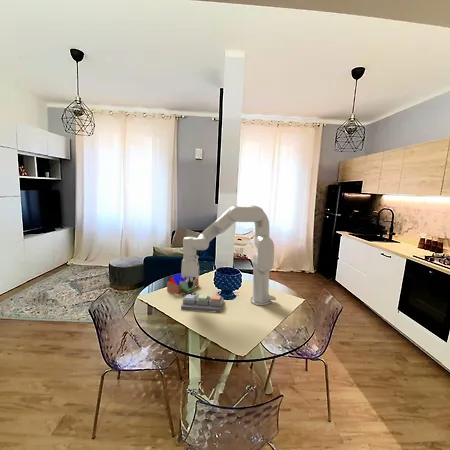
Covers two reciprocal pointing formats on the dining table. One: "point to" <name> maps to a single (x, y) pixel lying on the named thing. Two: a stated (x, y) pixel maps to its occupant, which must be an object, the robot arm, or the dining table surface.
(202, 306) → the button panel
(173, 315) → the dining table surface
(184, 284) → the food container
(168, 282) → the house
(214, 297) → the button terracotta
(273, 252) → the robot arm
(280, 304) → the dining table surface
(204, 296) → the button sage
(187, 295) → the button slate
